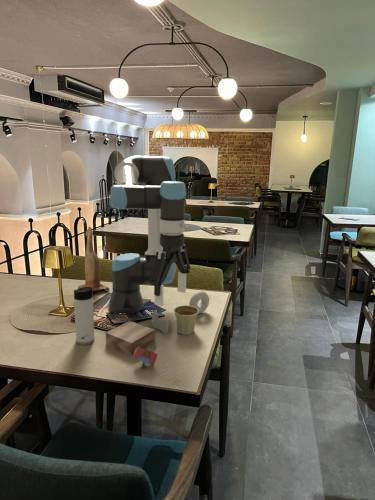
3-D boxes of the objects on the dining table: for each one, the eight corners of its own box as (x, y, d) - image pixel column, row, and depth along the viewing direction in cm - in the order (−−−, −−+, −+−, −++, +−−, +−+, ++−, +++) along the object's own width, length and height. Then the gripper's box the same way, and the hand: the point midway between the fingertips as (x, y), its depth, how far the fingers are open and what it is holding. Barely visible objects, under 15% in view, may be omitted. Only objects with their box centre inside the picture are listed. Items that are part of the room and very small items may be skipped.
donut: (192, 317, 152) (193, 295, 150) (187, 315, 155) (188, 292, 152) (210, 312, 158) (211, 290, 156) (205, 309, 161) (206, 287, 158)
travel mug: (85, 347, 127) (83, 292, 121) (72, 341, 130) (69, 288, 125) (98, 340, 132) (97, 287, 127) (85, 335, 135) (83, 283, 130)
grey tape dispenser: (164, 334, 138) (150, 324, 145) (167, 333, 138) (153, 323, 146) (165, 320, 136) (150, 311, 144) (168, 319, 137) (153, 310, 145)
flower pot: (180, 339, 134) (180, 317, 132) (169, 328, 142) (169, 307, 140) (202, 334, 139) (203, 313, 136) (190, 323, 147) (191, 303, 144)
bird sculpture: (97, 285, 186) (93, 223, 179) (110, 291, 178) (107, 226, 171) (77, 291, 179) (72, 226, 171) (90, 297, 171) (85, 229, 163)
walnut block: (106, 345, 129) (105, 332, 128) (129, 333, 138) (129, 320, 137) (131, 356, 122) (131, 343, 121) (154, 342, 132) (154, 329, 131)
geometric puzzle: (163, 354, 120) (148, 335, 118) (161, 365, 113) (145, 346, 112) (145, 365, 121) (131, 347, 120) (142, 377, 114) (127, 358, 113)
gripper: (159, 241, 100) (158, 314, 105) (201, 228, 121) (199, 289, 126) (137, 238, 104) (137, 308, 109) (182, 225, 125) (180, 285, 130)
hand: (170, 298), depth 118 cm, fingers open, 13 cm apart
